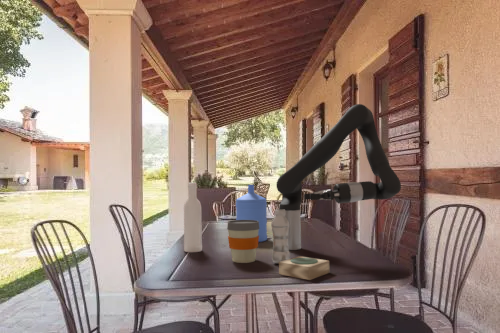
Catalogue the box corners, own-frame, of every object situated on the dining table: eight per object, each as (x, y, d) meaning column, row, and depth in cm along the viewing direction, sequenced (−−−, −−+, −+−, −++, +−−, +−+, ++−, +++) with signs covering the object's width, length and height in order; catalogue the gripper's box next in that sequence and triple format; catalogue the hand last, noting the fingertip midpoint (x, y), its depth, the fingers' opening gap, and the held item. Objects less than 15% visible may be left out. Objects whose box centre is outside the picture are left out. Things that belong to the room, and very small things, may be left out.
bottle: (185, 253, 173) (184, 182, 174) (182, 249, 181) (181, 182, 181) (203, 251, 176) (203, 182, 176) (200, 248, 183) (199, 182, 184)
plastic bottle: (289, 265, 146) (288, 210, 147) (270, 265, 148) (269, 210, 148) (290, 262, 153) (290, 209, 153) (273, 261, 154) (272, 208, 154)
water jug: (267, 242, 197) (266, 185, 197) (235, 243, 197) (234, 185, 198) (266, 237, 212) (266, 184, 213) (236, 238, 213) (236, 184, 213)
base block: (279, 274, 134) (278, 261, 134) (299, 267, 143) (299, 255, 143) (309, 280, 126) (309, 266, 127) (329, 272, 135) (329, 259, 136)
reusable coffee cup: (229, 264, 150) (228, 223, 150) (226, 257, 162) (225, 220, 162) (262, 263, 152) (262, 222, 152) (256, 256, 164) (256, 219, 164)
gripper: (340, 183, 162) (301, 187, 160) (354, 182, 148) (311, 187, 146) (342, 201, 162) (303, 206, 160) (356, 202, 148) (313, 207, 146)
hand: (307, 197), depth 153 cm, fingers open, 8 cm apart
